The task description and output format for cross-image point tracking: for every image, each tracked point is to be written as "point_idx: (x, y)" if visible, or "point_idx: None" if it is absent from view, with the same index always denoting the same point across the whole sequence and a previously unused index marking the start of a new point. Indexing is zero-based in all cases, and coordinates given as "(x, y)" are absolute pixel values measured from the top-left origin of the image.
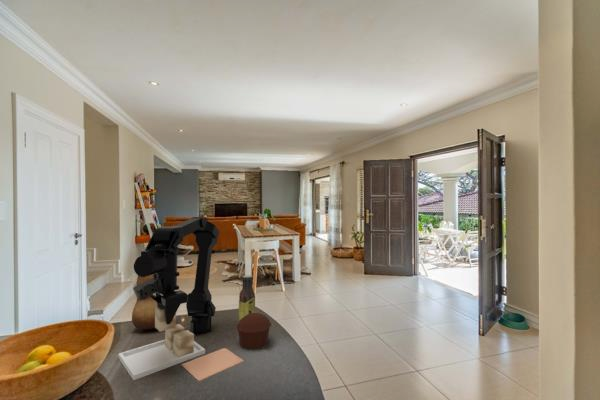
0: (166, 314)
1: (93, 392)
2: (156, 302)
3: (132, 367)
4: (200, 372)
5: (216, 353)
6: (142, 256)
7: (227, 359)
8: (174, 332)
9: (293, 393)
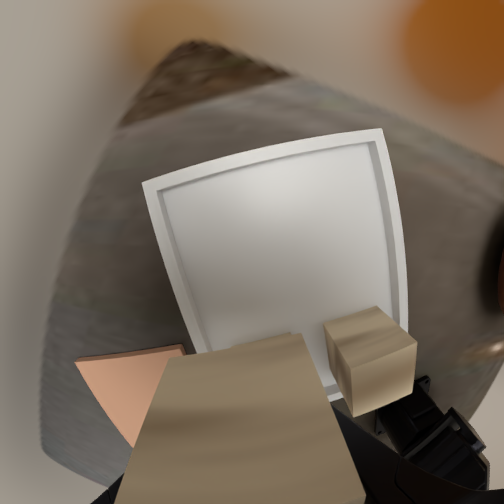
0: (106, 492)
1: (163, 70)
2: (456, 491)
3: (256, 175)
4: (109, 378)
5: None
6: None
7: None
8: (347, 378)
9: (42, 441)
